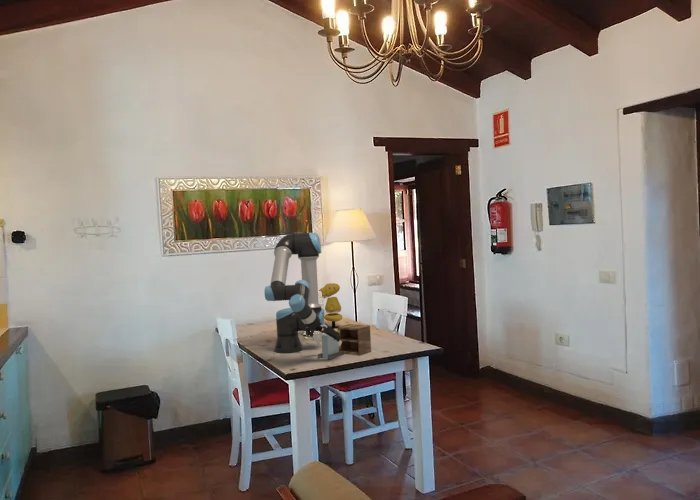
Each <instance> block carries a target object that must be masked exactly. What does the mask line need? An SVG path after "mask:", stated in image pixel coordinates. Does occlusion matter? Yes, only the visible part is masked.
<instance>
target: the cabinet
mask: <svg viewBox="0 0 700 500" xmlns="http://www.w3.org/2000/svg"><path fill="white" fill-rule="evenodd" d="M336 331H337V332H338V333H339V334H340V335H339V338H340V340H341V341H342V343H341V345H340V346H339V352H337V353H334V354H331V355H328V360H333V359H335V358H338V357H341V356H344V355H352V356H363V355H366V354H368V353H371V352H372V341H371V340H372V339H371V325H368V324H367V325H366V324H355V323H354V324H353V323H352V324H351V323H348V324H344V325H340V327H338V328H337V329H336ZM317 357H318V359H323V358H322V352H321V353H317Z"/></svg>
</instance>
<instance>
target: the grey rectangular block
mask: <svg viewBox="0 0 700 500" xmlns="http://www.w3.org/2000/svg"><path fill="white" fill-rule="evenodd" d="M320 337H321V338H320V339H321V353H322V358H321V359H326V360H327V359H328V355H331V354H334V353H337V352H339V346H338V345H337V343H336V342H335V341H334V340H333V338H332V337H330V336H329V335H327V334H325V333H322V334H321V336H320ZM328 360H329V359H328Z"/></svg>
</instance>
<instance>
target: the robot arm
mask: <svg viewBox="0 0 700 500" xmlns="http://www.w3.org/2000/svg"><path fill="white" fill-rule="evenodd" d="M320 254H322V244H321V240H320V235H319V234H318V233H317V232H299V233H288V234H286V235H284V236H283V237H281V238H280V239H279V240H278V242H277V243H276V244H275V247H274V250H273V255H274V261H273V262H274V263H273V267H272V272H271V273H272V274H271V280H270V284H269V285H267V286H265V287H264V298H265V301H267V302H276V301H278V302H279V301H288V306H289V307H287V308H282V309H280V310H278V311H277V312H276V314H275V316H276V317H275V322H276V335H277V337H276V340H275V345H274V352H276V353H277V354H290V353H291V354H292V353H297V352H300V351H302V350H303V345H302V342H301V340H300V337H299V332H303V331H306V335H307V336H306V337H310V338H312V339H313V340H314V341H315V343H317V345H320V344H321V343H322V339H321V338H320V336H318V334H316V333H314V331H318V332H319V333H321V334H327V335H329V336H330V337H332V338H333V340H334V341H335V342H336V343H337V345H338V346H340V345H341V343H342V341H341V340H340V338H339V335H340V334H339V333H338V332H337V330H335V329H332V328H331V327H330V325H328V324H327V323H326V322H325V319H324V316H325V308H322V305H321V304H320V303H319V294H318V291H319V287H318V285H319V284H318V283H319V282H318V269H317V268H318V266H317V264H318V263H317V261H318V260H317V259H319V257H320ZM292 255H297V258H298V260H300V267H301V279H299V280H297V281H296V282H295V283H294V284H286V283H287V276H288V271H289V263H290V258H291V257H292ZM310 331H311V332H310ZM313 333H314V334H313ZM309 335H310V336H309Z"/></svg>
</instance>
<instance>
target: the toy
mask: <svg viewBox="0 0 700 500" xmlns="http://www.w3.org/2000/svg"><path fill="white" fill-rule="evenodd" d="M340 289H341V287H340V285H339V284H338V283H331V282H329V283H326V284H325V285H324V286H323V287H321V288H320V289H318V291H321V292H322V297H321V298H323V299H326V302H325V306H324V311H325V313H327V314H324V321H328V322H331V326H330V325H329V326H330V327H331V328H332V329H334V330H335V328H336V329H338V327H340V326H341V325H340V326H339V325H336V322H339V321H341V320H343V315H342V314H340V312H342V306H341V303H340V302H339V299H338V297H337V296H333V295H336V294H337V293H338V292H339V291H340Z"/></svg>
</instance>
